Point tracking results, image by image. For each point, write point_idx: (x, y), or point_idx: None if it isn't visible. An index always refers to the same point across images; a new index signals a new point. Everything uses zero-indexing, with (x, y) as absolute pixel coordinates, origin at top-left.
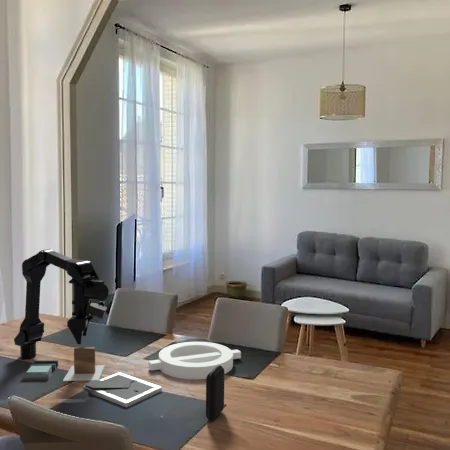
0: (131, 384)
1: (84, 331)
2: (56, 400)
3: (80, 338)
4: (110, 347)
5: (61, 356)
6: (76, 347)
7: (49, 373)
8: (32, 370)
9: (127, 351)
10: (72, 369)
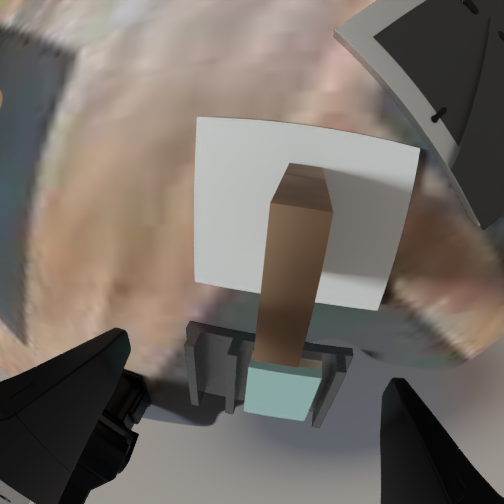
0: (491, 15)
1: (105, 373)
2: (500, 305)
3: (436, 432)
4: (10, 148)
5: (91, 307)
6: (260, 353)
7: None
8: (291, 410)
9: (36, 70)
10: (244, 278)
